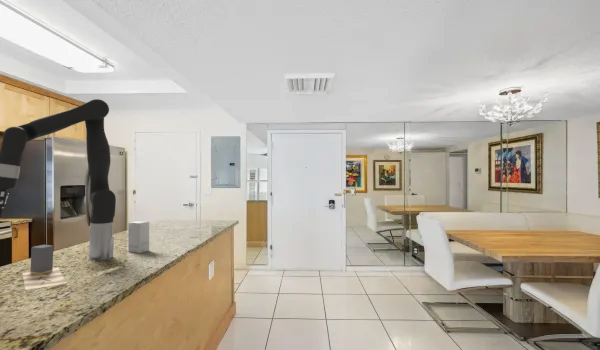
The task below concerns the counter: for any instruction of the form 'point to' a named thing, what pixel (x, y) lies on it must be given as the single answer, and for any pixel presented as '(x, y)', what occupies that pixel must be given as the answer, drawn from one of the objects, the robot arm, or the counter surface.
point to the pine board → (44, 279)
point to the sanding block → (41, 259)
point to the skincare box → (138, 236)
